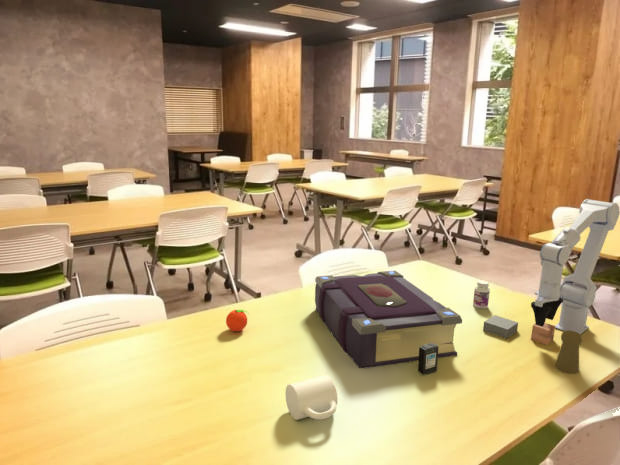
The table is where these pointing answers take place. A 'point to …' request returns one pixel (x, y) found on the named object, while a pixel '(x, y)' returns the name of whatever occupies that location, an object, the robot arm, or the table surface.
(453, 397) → the table surface
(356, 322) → the book
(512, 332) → the gray block
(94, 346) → the table surface
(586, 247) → the robot arm
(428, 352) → the ink cartridge
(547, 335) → the terracotta cube
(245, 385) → the table surface
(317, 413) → the mug
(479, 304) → the pill bottle
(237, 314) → the clementine
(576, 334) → the cork
